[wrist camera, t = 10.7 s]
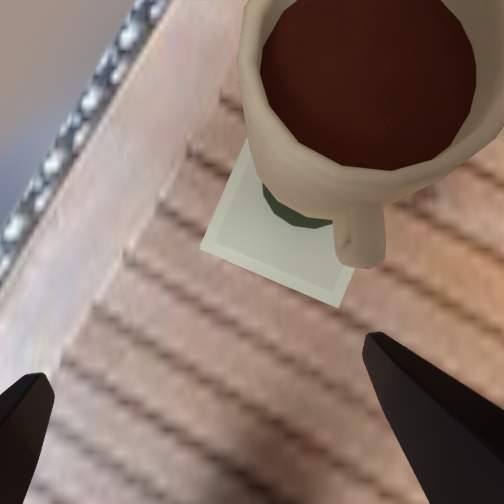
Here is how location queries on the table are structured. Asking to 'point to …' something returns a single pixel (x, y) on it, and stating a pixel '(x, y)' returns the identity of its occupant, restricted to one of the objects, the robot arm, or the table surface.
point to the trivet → (273, 239)
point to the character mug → (366, 105)
